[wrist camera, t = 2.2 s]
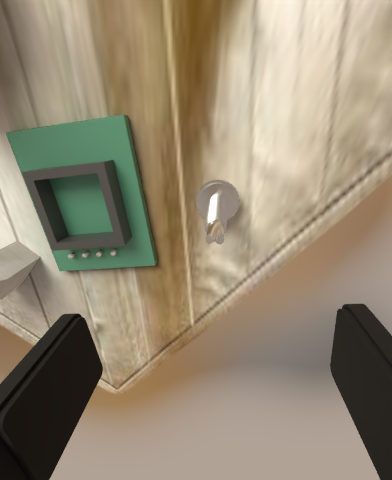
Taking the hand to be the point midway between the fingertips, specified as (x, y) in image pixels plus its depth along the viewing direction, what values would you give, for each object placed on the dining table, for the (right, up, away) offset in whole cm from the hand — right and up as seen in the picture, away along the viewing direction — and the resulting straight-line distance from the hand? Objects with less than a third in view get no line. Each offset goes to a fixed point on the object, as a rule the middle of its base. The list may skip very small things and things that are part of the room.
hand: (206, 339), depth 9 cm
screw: (+2, +9, +20) cm, 22 cm away
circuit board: (-14, +9, +22) cm, 27 cm away
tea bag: (-26, 0, +27) cm, 38 cm away
